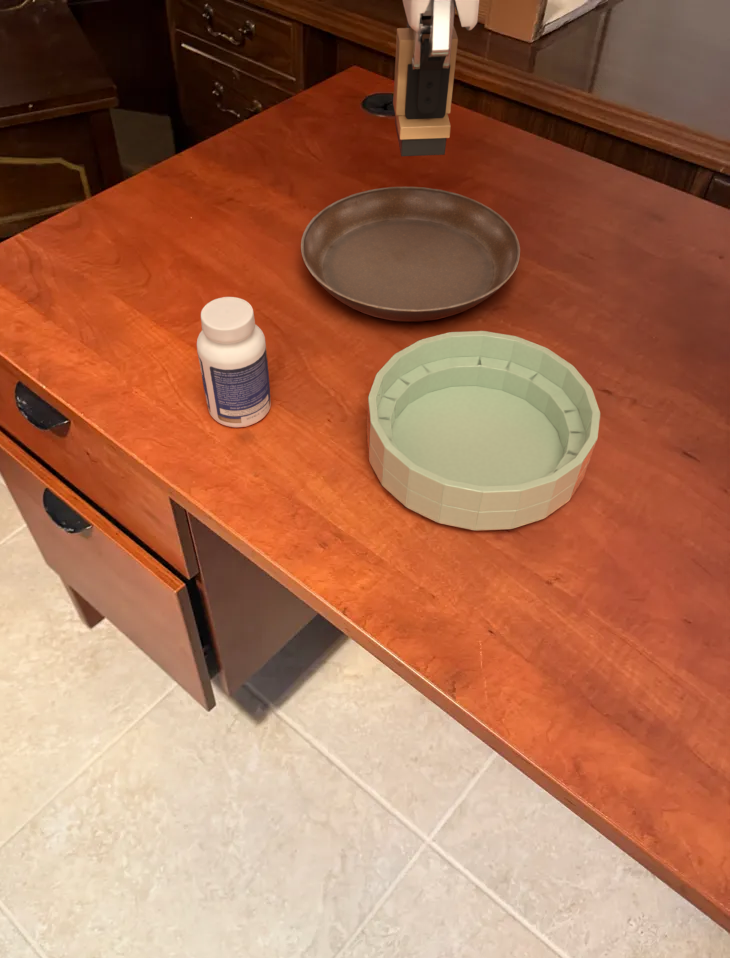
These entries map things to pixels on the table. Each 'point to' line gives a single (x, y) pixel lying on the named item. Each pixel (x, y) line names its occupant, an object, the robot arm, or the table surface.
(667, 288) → the table surface
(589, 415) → the bowl
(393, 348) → the table surface
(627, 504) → the table surface
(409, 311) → the plant saucer
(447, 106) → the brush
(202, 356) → the pill bottle
